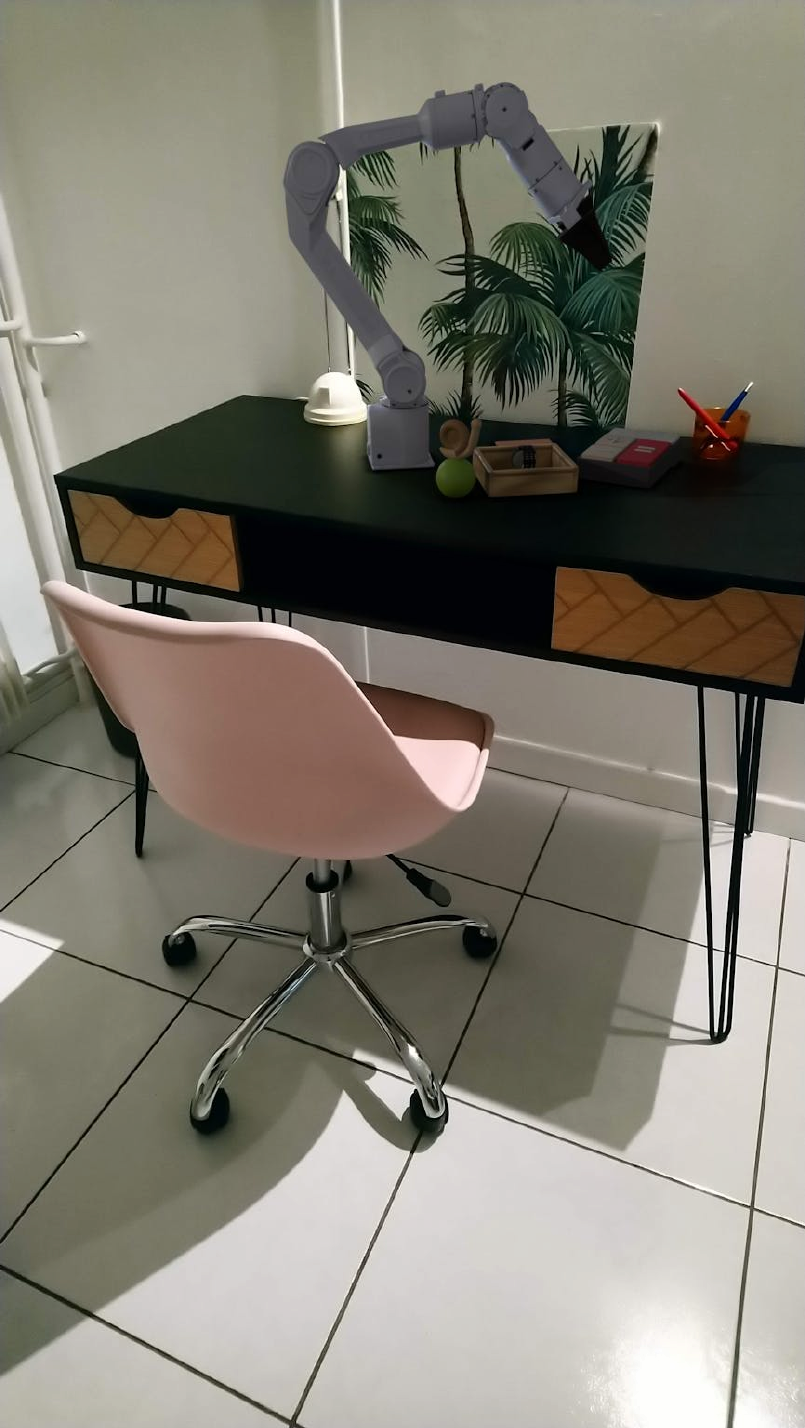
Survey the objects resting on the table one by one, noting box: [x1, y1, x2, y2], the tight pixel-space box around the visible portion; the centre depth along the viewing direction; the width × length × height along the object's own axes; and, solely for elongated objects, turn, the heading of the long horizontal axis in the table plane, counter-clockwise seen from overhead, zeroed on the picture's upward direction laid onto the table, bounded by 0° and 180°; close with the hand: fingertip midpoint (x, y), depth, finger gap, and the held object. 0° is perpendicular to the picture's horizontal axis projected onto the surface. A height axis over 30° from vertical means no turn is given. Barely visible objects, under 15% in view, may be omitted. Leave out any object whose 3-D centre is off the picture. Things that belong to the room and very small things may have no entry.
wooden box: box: [472, 442, 579, 498], centre depth 127 cm, size 12×12×4 cm
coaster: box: [494, 438, 554, 446], centre depth 141 cm, size 9×9×1 cm
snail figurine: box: [435, 409, 484, 499], centre depth 119 cm, size 5×6×12 cm
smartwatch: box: [511, 445, 537, 469], centre depth 127 cm, size 4×5×5 cm
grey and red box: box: [576, 427, 684, 490], centre depth 130 cm, size 11×4×15 cm
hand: (604, 259), depth 122 cm, fingers open, 7 cm apart
